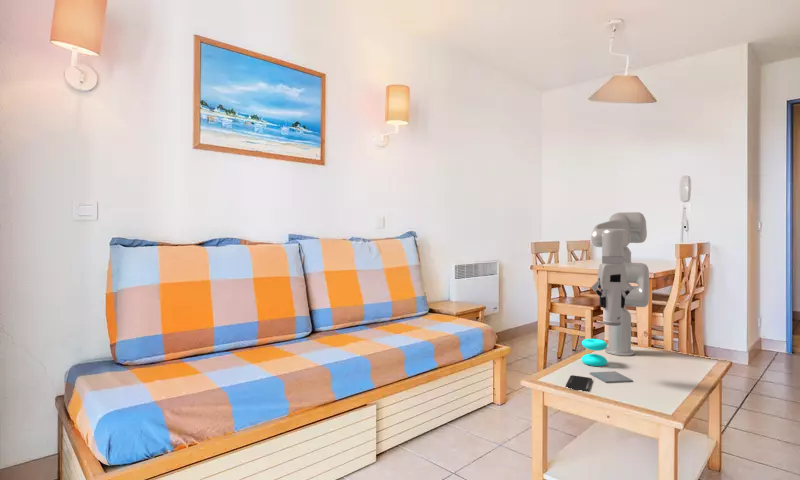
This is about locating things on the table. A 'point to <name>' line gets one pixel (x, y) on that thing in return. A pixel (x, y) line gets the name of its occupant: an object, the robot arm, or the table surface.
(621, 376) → the coaster
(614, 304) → the travel mug
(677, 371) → the table surface
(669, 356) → the table surface
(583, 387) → the phone
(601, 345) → the donuts
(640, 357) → the table surface
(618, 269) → the robot arm
